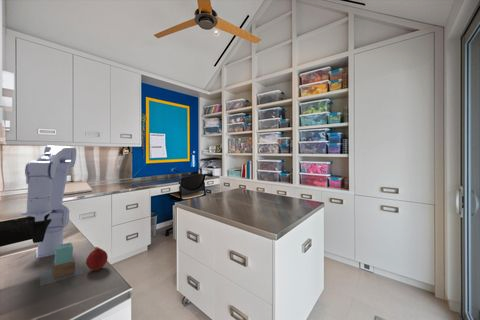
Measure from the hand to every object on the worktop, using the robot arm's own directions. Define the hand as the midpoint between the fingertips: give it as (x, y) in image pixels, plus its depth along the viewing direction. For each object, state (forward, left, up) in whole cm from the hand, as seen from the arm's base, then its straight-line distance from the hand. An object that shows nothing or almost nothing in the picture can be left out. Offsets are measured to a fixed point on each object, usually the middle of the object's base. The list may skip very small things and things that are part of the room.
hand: (37, 239), depth 67 cm
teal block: (+8, +6, -7) cm, 12 cm away
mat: (+8, +6, -10) cm, 14 cm away
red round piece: (+13, +14, -11) cm, 22 cm away
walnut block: (+8, +6, -10) cm, 14 cm away
